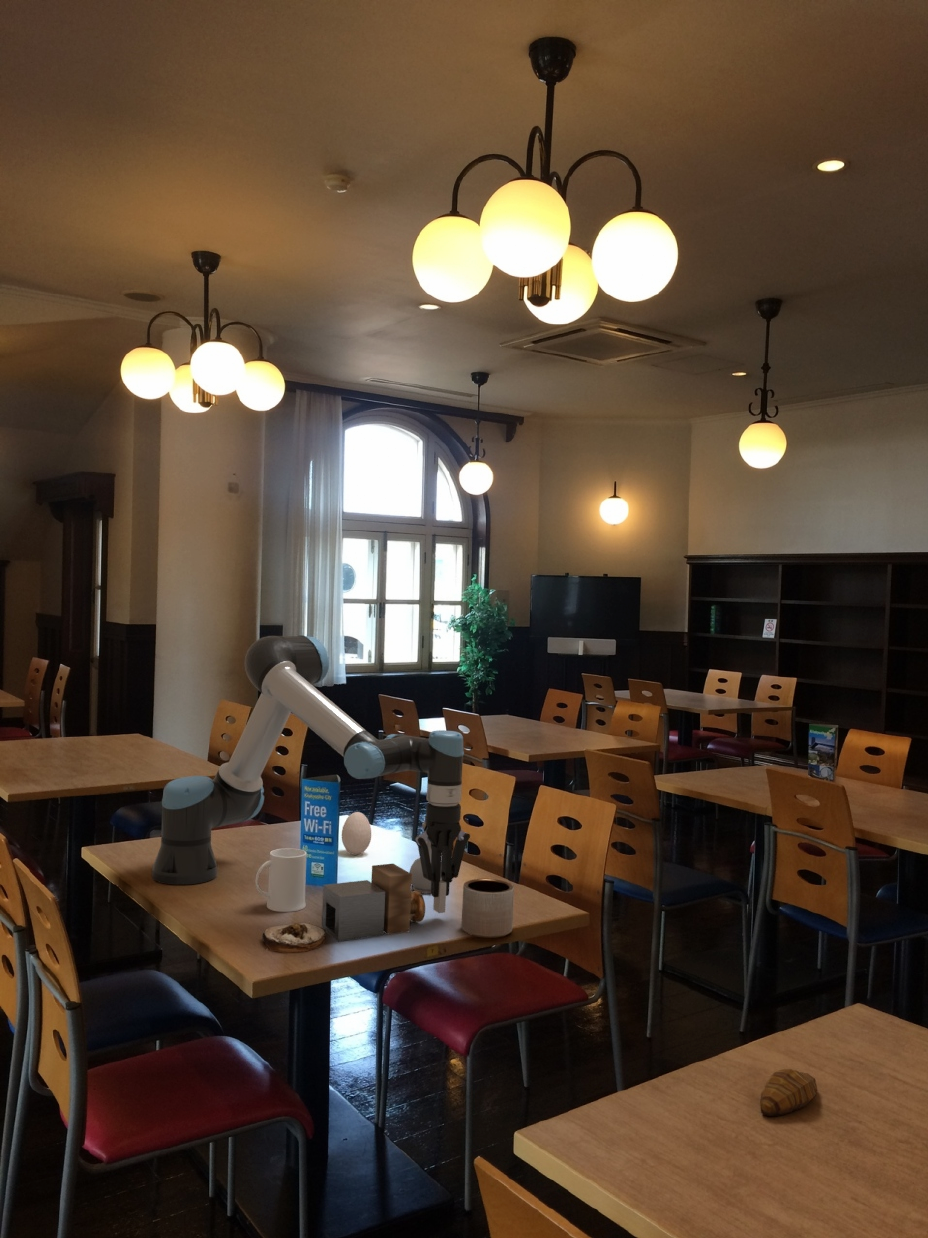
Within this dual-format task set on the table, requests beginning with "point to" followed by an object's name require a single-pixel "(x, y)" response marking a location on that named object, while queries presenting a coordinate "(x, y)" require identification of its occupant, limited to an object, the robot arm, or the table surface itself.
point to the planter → (487, 908)
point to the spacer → (394, 896)
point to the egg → (356, 833)
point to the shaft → (417, 907)
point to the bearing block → (353, 910)
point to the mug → (285, 880)
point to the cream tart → (293, 937)
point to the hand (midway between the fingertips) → (439, 910)
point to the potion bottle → (420, 872)
